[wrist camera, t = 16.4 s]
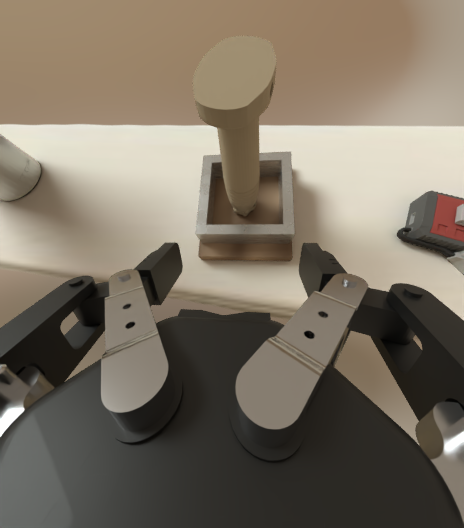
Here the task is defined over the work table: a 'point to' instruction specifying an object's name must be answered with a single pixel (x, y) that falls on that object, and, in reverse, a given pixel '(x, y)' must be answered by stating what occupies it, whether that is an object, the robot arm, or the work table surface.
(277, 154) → the collar
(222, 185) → the board
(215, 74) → the handle
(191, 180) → the work table surface
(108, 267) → the work table surface
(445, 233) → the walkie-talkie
